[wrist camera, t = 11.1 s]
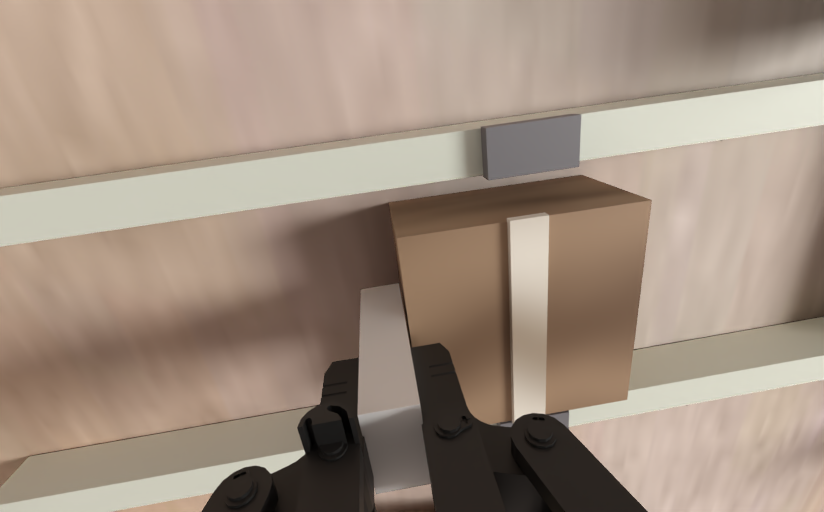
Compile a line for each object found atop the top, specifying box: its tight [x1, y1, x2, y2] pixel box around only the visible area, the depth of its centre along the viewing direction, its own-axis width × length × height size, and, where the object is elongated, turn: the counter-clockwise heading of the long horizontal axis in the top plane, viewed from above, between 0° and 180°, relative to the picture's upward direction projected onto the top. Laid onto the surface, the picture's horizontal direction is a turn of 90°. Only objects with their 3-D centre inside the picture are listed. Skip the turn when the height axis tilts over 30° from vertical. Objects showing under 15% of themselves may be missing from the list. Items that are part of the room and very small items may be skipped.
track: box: [0, 73, 824, 512], centre depth 16 cm, size 14×42×3 cm, turn 97°
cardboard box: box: [389, 175, 652, 424], centre depth 15 cm, size 8×8×5 cm
